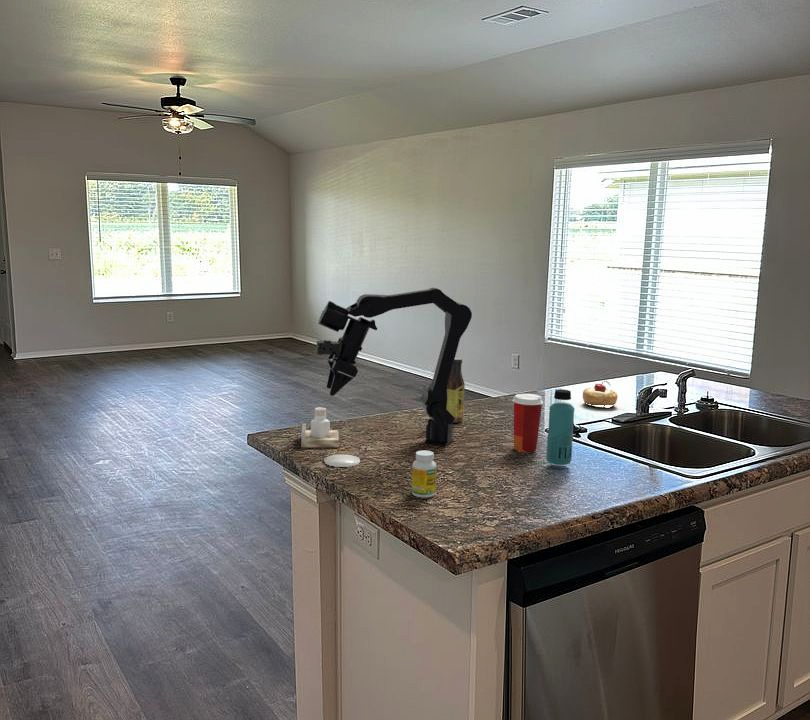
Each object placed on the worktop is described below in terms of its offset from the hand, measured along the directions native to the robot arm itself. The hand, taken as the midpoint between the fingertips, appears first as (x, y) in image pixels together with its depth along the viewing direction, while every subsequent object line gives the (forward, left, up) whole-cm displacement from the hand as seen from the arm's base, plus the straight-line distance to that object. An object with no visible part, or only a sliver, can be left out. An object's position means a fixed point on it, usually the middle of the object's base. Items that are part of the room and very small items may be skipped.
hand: (329, 391), depth 197 cm
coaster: (-11, +11, -15) cm, 22 cm away
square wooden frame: (+3, -1, -15) cm, 15 cm away
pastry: (-54, -92, -15) cm, 107 cm away
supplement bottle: (-39, +21, -15) cm, 46 cm away
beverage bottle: (-60, -15, -15) cm, 63 cm away
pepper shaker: (+3, -1, -15) cm, 15 cm away
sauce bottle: (-19, -43, -15) cm, 49 cm away
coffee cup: (-48, -25, -15) cm, 56 cm away
